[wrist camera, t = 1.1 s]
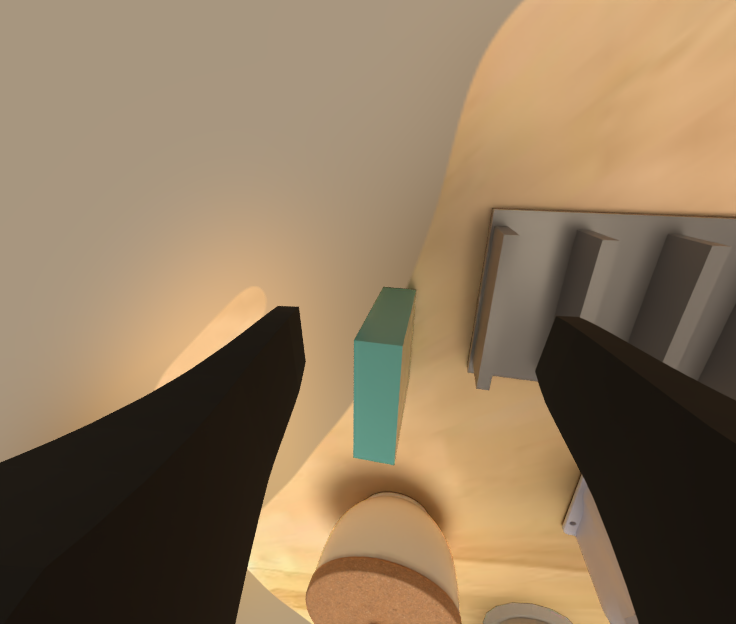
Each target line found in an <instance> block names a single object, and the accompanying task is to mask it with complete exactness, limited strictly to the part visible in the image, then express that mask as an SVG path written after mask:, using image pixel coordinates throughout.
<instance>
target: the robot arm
mask: <svg viewBox="0 0 736 624" xmlns="http://www.w3.org/2000/svg"><path fill="white" fill-rule="evenodd" d="M305 362H306V361H305V353H304V345H303V338H302V329H301V321H300V313H299V307H288V306H277V307H276V308H275V309H273V310H272V311H270V312H269V313H268V314H266V315H265V316H264V317H262V318H261V319H260V320H258V321H257V322H256V323H255V324H253V325H252V326H251V327H249V328H248V329H247V330H245V331H244V332H243V333H242V334H240V335H239V336H238V337H236V338H235V339H234V340H232V341H231V342H230V343H228V344H227V345H225V346H224V347H223V348H221V349H220V350H218V351H217V352H215V353H214V354H212V355H211V356H209V357H208V358H207V359H205V360H204V361H202V362H201V363H199V364H198V365H196V366H195V367H193V368H192V369H190V370H189V371H187V372H186V373H184V374H182V375H181V376H179V377H177V378H176V379H174V380H172V381H171V382H169V383H167V384H166V385H164V386H162V387H160V388H159V389H157V390H155V391H153V392H152V393H150V394H148V395H146V396H144V397H143V398H141V399H139V400H137V401H135V402H133V403H131V404H129V405H127V406H125V407H123V408H121V409H119V410H117V411H115V412H113V413H111V414H109V415H107V416H105V417H103V418H101V419H99V420H97V421H95V422H93V423H91V424H89V425H87V426H84V427H83V428H80V429H78V430H76V431H73V432H71V433H69V434H67V435H64V436H62V437H60V438H58V439H56V440H53V441H51V442H49V443H46V444H44V445H42V446H39V447H37V448H34V449H32V450H30V451H27V452H25V453H23V454H20V455H18V456H15V457H13V458H11V459H8V460H5V461H3V462H1V463H0V624H235V623H236V618H237V613H238V608H239V604H240V599H241V594H242V590H243V585H244V581H245V576H246V571H247V567H248V562H249V558H250V554H251V549H252V545H253V541H254V537H255V532H256V528H257V524H258V520H259V515H260V512H261V508H262V504H263V500H264V496H265V492H266V488H267V484H268V480H269V477H270V474H271V470H272V467H273V464H274V461H275V458H276V455H277V453H278V450H279V447H280V444H281V441H282V439H283V436H284V433H285V430H286V427H287V425H288V422H289V419H290V416H291V413H292V411H293V408H294V405H295V402H296V399H297V396H298V393H299V390H300V386H301V381H302V376H303V371H304V367H305ZM535 373H536V376H537V379H538V383H539V386H540V389H541V392H542V394H543V397H544V400H545V403H546V405H547V407H548V409H549V411H550V413H551V415H552V417H553V419H554V421H555V423H556V425H557V427H558V429H559V431H560V433H561V435H562V437H563V439H564V441H565V443H566V445H567V446H568V448H569V450H570V452H571V454H572V456H573V458H574V460H575V462H576V464H577V466H578V468H579V470H580V472H581V474H582V475H581V478H580V480H579V483H578V486H577V488H576V491H575V494H574V496H573V499H572V502H571V504H570V507H569V510H568V512H567V515H566V518H565V520H564V523H563V526H562V528H563V531H564V532H565V533H566V534H569V535H574V536H576V538H577V541H578V544H579V546H580V549H581V552H582V555H583V557H584V560H585V563H586V566H587V568H588V571H589V574H590V576H591V579H592V582H593V585H594V587H595V590H596V593H597V596H598V598H599V601H600V604H601V606H602V609H603V611H604V613H605V615H606V617H607V618H608V620H609V622H610V623H611V624H736V400H734V399H732V398H730V397H728V396H726V395H724V394H722V393H720V392H718V391H716V390H714V389H712V388H710V387H708V386H706V385H704V384H702V383H700V382H699V381H697V380H695V379H693V378H691V377H689V376H687V375H685V374H683V373H681V372H680V371H678V370H676V369H674V368H672V367H670V366H669V365H667V364H665V363H663V362H661V361H660V360H658V359H656V358H654V357H652V356H651V355H649V354H647V353H645V352H644V351H642V350H640V349H638V348H637V347H635V346H633V345H631V344H629V343H628V342H626V341H624V340H622V339H621V338H619V337H617V336H615V335H614V334H612V333H610V332H608V331H606V330H604V329H603V328H601V327H599V326H597V325H595V324H593V323H591V322H589V321H587V320H585V319H583V318H580V317H571V316H556V317H555V320H554V323H553V325H552V328H551V330H550V333H549V336H548V338H547V341H546V343H545V346H544V349H543V351H542V354H541V357H540V359H539V362H538V364H537V367H536V370H535Z"/></svg>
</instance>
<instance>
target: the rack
mask: <svg viewBox="0 0 736 624" xmlns="http://www.w3.org/2000/svg"><path fill="white" fill-rule="evenodd" d="M556 316H571V317H580V318H583V319H585V320H587V321H589V322H591V323H593V324H595V325H597V326H599V327H601V328H603V329H604V330H606V331H608V332H610V333H612V334H614V335H615V336H617V337H619V338H621V339H622V340H624V341H626V342H628V343H629V344H631V345H633V346H635V347H637V348H638V349H640V350H642V351H644V352H645V353H647V354H649V355H651V356H652V357H654V358H656V359H658V360H660V361H661V362H663V363H665V364H667V365H669V366H670V367H672V368H674V369H676V370H678V371H680V372H681V373H683V374H685V375H687V376H689V377H691V378H693V379H695V380H697V381H699V382H700V383H702V384H704V385H706V386H708V387H710V388H712V389H714V390H716V391H718V392H720V393H722V394H724V395H726V396H728V397H730V398H732V399H734V400H736V218H727V217H702V216H676V215H651V214H625V213H600V212H574V211H548V210H523V209H497V208H493V209H492V215H491V221H490V227H489V234H488V240H487V246H486V252H485V259H484V265H483V271H482V277H481V283H480V290H479V296H478V302H477V308H476V315H475V321H474V327H473V333H472V339H471V346H470V352H469V358H468V364H467V370H468V372H469V373H474V376H475V382H476V389H483V390H489V389H490V384H491V379H492V376H499V377H507V378H515V379H522V380H530V381H538V379H537V376H536V373H535V370H536V367H537V364H538V362H539V359H540V357H541V354H542V351H543V349H544V346H545V343H546V341H547V338H548V336H549V333H550V330H551V328H552V325H553V323H554V320H555V317H556Z"/></svg>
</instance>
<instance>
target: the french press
mask: <svg viewBox="0 0 736 624" xmlns="http://www.w3.org/2000/svg"><path fill="white" fill-rule="evenodd" d="M483 624H572V623H571V622H570V620H569V619H568V618H566V617H565V616H563V615H561V614H559V613H557V612H555V611H554V610H552V609H549V608H545V607H542V606H538V605H534V604H527V603H509V604H505V605H500V606H496V607H495V608H493V609H492V610H490V611H489V612H487V613H486V616H485V618H484V621H483Z"/></svg>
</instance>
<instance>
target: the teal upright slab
mask: <svg viewBox="0 0 736 624" xmlns="http://www.w3.org/2000/svg"><path fill="white" fill-rule="evenodd" d="M415 302H416V290H413V289H402V288H391V287H383V289H382V291H381V292H380V294H379V296H378V298H377V300H376V301H375V304H374V305H373V307H372V309H371V311H370V312H369V314H368V316H367V318H366V320H365V321H364V323H363V325H362V327H361V329H360V330H359V332H358V334H357V336H356V338H355V340H354V449H353V458H359V459H364V460H369V461H374V462H380V463H385V464H390V465H394V464H395V459H396V453H397V447H398V441H399V435H400V430H401V424H402V418H403V412H404V406H405V401H406V395H407V389H408V383H409V374H410V362H411V350H412V338H413V326H414V314H415Z"/></svg>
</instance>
